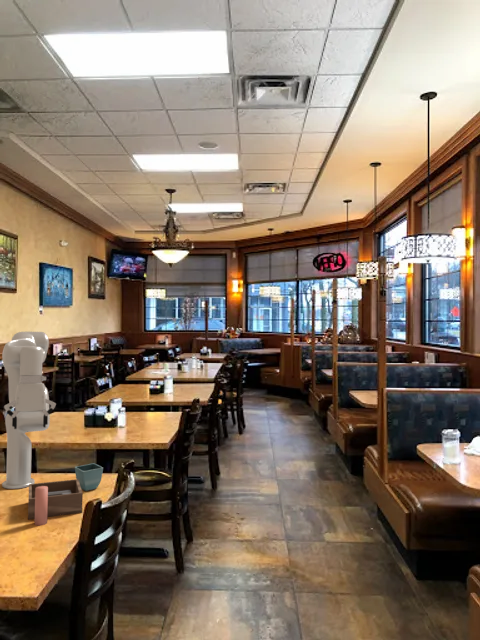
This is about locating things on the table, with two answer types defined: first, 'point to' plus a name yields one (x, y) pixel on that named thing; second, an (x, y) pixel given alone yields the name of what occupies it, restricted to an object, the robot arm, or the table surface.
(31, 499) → the open box
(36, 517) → the peg
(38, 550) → the table surface
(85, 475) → the flower pot
